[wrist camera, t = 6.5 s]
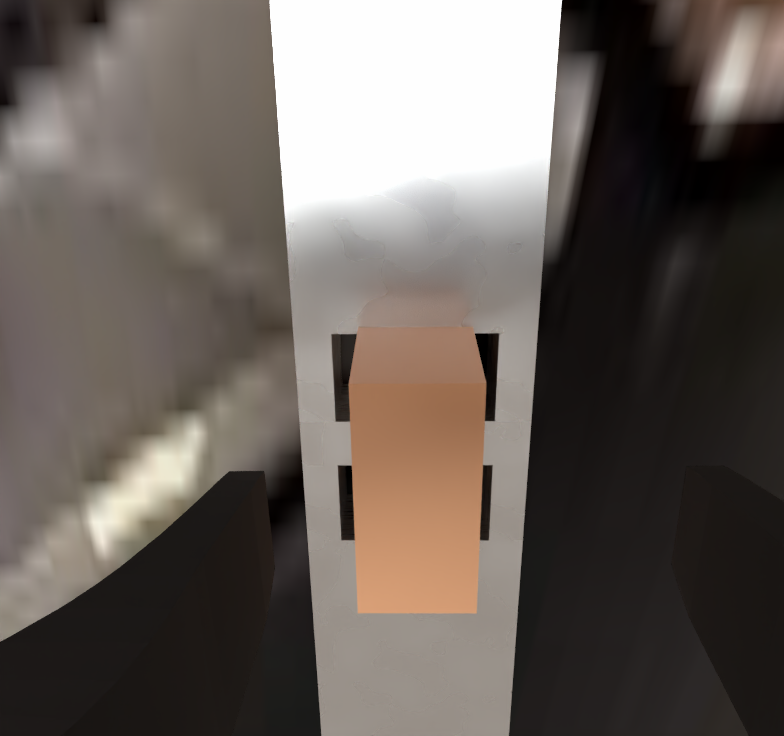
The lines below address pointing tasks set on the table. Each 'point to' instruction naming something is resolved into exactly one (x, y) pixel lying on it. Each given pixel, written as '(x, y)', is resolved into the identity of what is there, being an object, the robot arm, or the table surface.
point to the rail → (415, 307)
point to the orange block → (417, 468)
